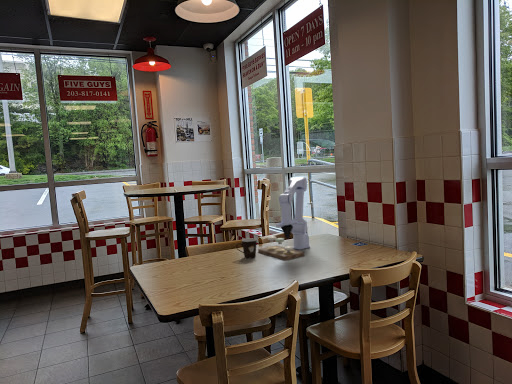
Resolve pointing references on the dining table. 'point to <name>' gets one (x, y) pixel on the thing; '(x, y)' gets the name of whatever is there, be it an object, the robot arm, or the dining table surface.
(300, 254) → the knob board
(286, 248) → the ivory knob
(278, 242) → the middle sage knob
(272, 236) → the ivory knob
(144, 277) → the dining table surface
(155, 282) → the dining table surface
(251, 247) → the coffee mug
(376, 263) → the dining table surface
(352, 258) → the dining table surface
